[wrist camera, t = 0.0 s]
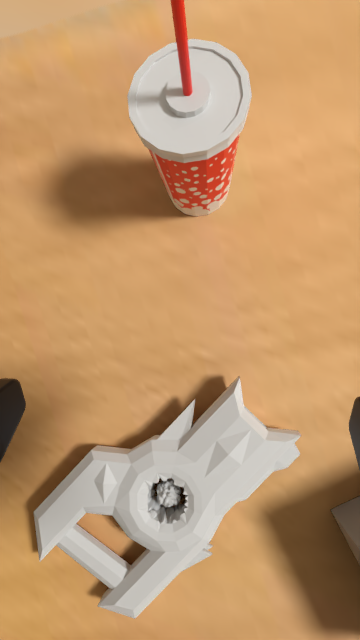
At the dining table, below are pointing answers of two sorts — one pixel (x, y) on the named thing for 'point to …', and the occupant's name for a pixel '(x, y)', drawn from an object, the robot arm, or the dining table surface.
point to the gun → (163, 496)
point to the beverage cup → (191, 116)
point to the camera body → (350, 523)
